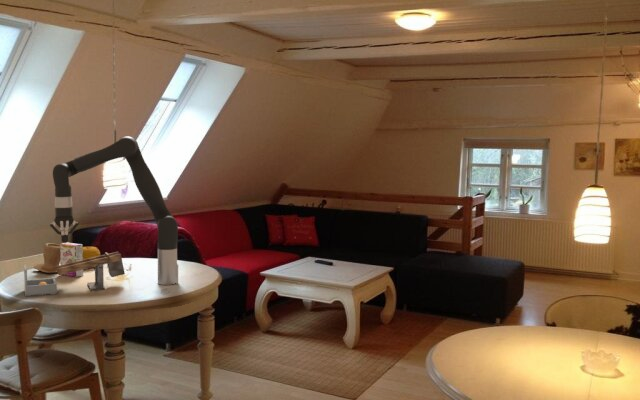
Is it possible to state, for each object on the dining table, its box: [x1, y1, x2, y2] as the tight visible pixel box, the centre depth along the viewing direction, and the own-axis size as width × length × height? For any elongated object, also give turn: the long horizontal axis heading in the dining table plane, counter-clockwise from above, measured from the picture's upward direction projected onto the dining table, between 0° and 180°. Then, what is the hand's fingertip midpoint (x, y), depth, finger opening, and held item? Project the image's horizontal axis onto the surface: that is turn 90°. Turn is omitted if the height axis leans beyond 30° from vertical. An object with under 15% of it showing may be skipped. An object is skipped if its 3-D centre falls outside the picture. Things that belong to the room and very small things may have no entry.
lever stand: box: [87, 263, 106, 292], centre depth 276 cm, size 6×13×12 cm, turn 29°
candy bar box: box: [59, 242, 84, 278], centre depth 299 cm, size 11×5×16 cm, turn 65°
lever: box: [56, 251, 126, 278], centre depth 278 cm, size 28×14×11 cm, turn 119°
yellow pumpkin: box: [83, 246, 101, 269], centre depth 320 cm, size 13×13×11 cm
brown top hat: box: [32, 242, 61, 274], centre depth 307 cm, size 15×12×15 cm
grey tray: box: [23, 264, 58, 297], centre depth 265 cm, size 13×13×12 cm
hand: (64, 242), depth 276 cm, fingers closed
